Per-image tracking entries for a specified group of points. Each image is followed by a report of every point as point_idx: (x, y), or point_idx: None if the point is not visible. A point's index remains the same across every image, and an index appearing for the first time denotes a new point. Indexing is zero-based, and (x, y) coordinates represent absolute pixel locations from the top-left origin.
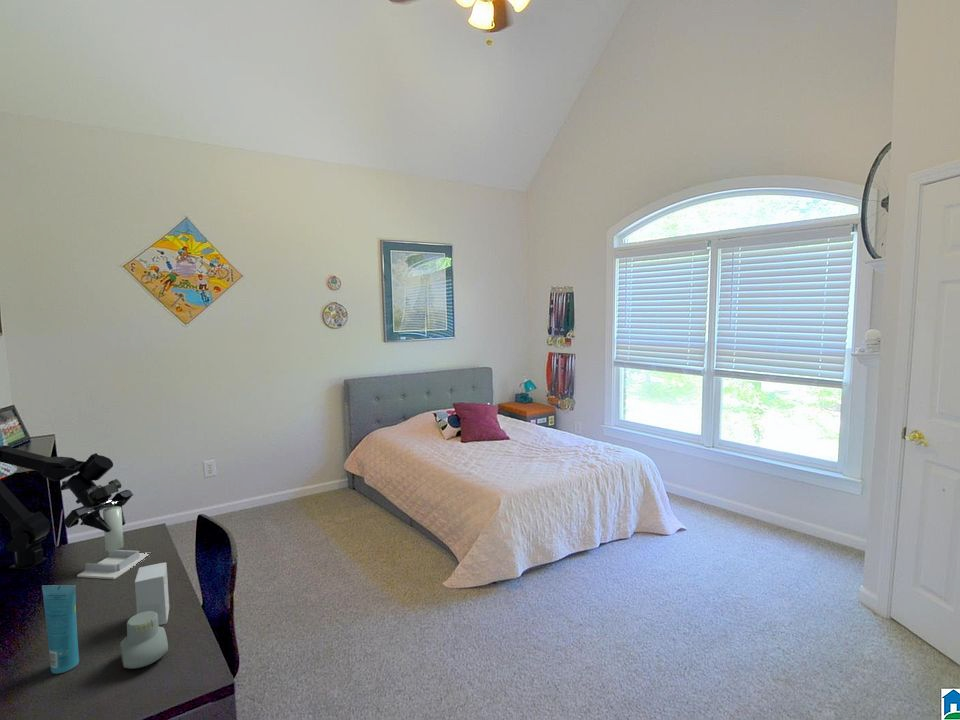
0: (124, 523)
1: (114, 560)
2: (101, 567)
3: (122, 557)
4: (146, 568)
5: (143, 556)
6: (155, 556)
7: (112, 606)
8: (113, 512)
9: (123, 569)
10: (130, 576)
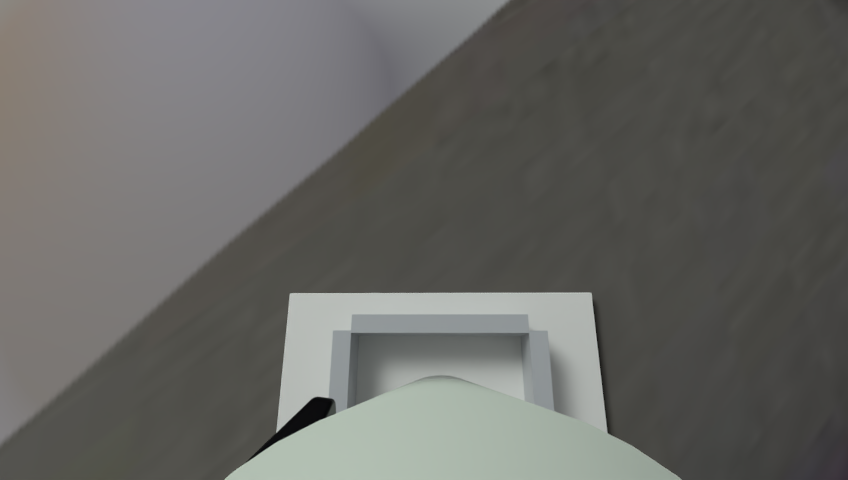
0: (331, 399)
1: None
2: None
3: None
4: None
5: (339, 310)
6: (315, 257)
7: (787, 107)
8: (674, 474)
9: (503, 308)
10: (542, 228)
